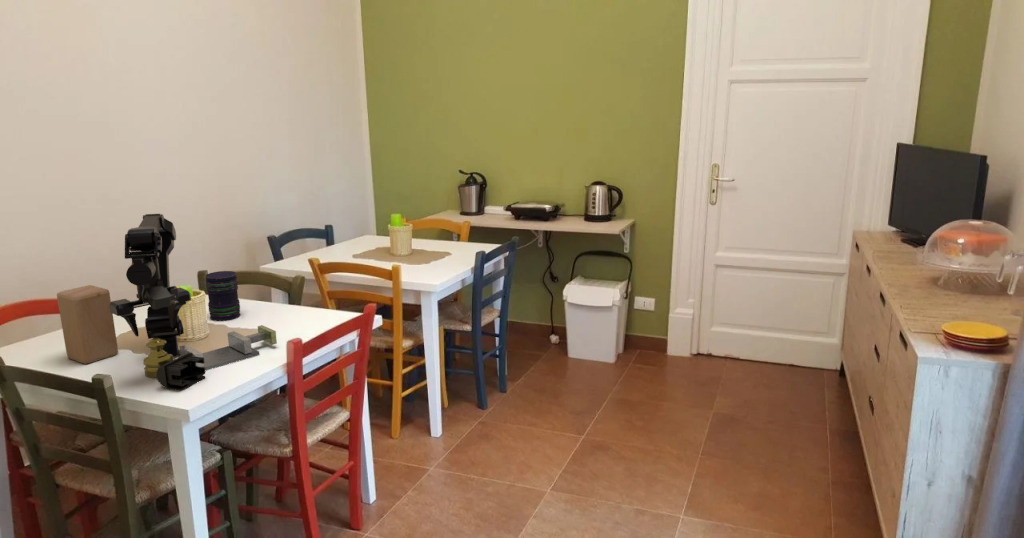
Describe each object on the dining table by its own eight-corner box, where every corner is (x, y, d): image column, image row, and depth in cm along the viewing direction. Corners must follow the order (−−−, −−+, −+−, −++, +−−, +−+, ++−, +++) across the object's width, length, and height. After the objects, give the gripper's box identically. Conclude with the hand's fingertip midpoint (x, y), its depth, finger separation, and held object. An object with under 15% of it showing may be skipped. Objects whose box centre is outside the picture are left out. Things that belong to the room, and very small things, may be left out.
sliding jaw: (228, 345, 204) (227, 332, 203) (261, 336, 212) (260, 324, 211) (245, 353, 198) (243, 340, 197) (278, 344, 206) (277, 331, 205)
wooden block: (120, 354, 201) (110, 288, 196) (85, 365, 193) (74, 297, 188) (100, 348, 206) (90, 283, 201) (65, 358, 198) (54, 292, 193)
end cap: (185, 374, 187) (182, 351, 185) (207, 377, 185) (204, 353, 183) (157, 389, 178) (154, 364, 176) (180, 392, 176) (177, 367, 174)
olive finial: (181, 370, 189) (177, 336, 187) (157, 380, 183) (152, 345, 180) (162, 366, 192) (158, 332, 190) (138, 375, 186) (133, 341, 183)
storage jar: (207, 322, 229) (202, 279, 225) (212, 313, 238) (207, 271, 235) (238, 320, 231) (234, 277, 228) (242, 311, 241) (238, 270, 237)
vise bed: (180, 362, 195) (178, 345, 194) (241, 345, 208) (239, 330, 207) (198, 372, 188) (196, 355, 187) (259, 354, 201) (258, 338, 200)
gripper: (121, 288, 169) (130, 348, 173) (196, 274, 182) (203, 329, 186) (104, 280, 176) (113, 338, 180) (178, 267, 190) (185, 320, 193)
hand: (155, 331), depth 185 cm, fingers open, 9 cm apart
